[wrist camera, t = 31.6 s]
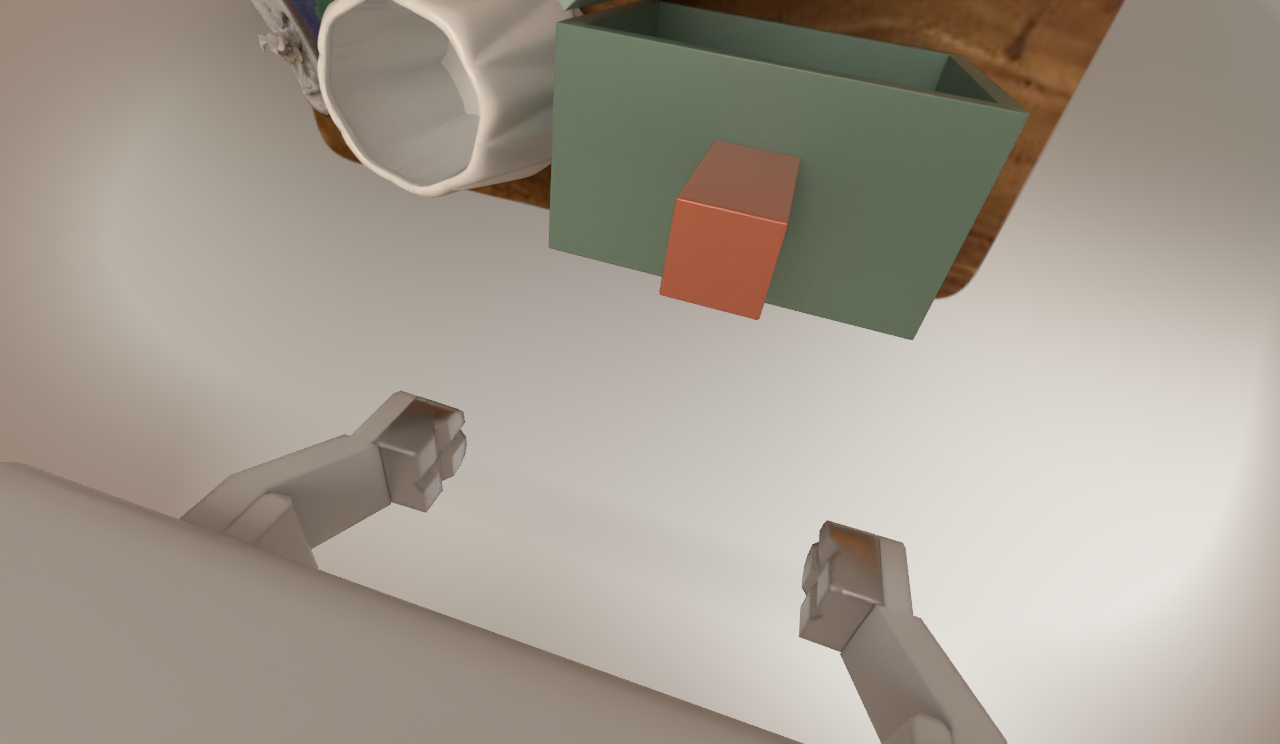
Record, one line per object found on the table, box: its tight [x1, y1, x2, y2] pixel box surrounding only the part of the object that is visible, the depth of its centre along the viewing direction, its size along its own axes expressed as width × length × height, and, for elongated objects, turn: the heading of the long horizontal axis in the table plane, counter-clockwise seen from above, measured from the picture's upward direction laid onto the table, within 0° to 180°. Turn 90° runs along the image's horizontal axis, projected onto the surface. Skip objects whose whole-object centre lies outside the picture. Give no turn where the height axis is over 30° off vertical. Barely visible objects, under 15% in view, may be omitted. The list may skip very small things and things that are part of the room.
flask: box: [249, 0, 334, 117], centre depth 40 cm, size 9×3×11 cm, turn 21°
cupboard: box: [549, 0, 1029, 340], centre depth 33 cm, size 11×20×16 cm, turn 82°
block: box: [660, 140, 801, 320], centre depth 24 cm, size 4×4×8 cm
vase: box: [317, 0, 583, 198], centre depth 36 cm, size 14×14×15 cm
